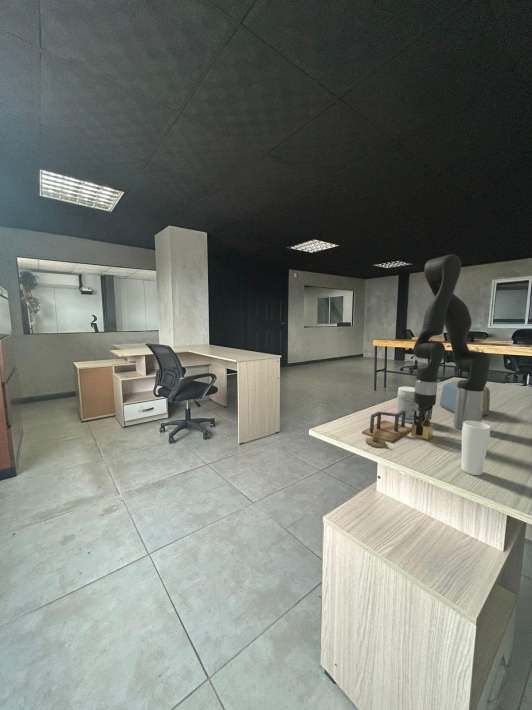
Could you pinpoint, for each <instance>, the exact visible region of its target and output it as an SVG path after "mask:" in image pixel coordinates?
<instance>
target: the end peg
mask: <svg viewBox="0 0 532 710" xmlns="http://www.w3.org/2000/svg"><path fill="white" fill-rule="evenodd" d="M365 442H366V443H367V444H368V445H367V444H366V443H365V444H366V445H367V446H369V445H370V447H372V446H374V447H373V448H378V447H381V448H384V446H385V447H386V444H387V443H386V441H384V440H382V439H379V431H378V430H373V437H372V436H369V437H366V438H365Z"/></svg>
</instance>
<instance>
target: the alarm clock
mask: <svg viewBox="0 0 532 710" xmlns="http://www.w3.org/2000/svg"><path fill="white" fill-rule="evenodd" d="M460 380H461V379H457V380H456V379H454V380H451V382H447V383H444V385H443V386H442V390H441V395H440V399H439V405H440V406H442V407H441V408H444V409H445V410H448V411H449V412H452V413H453V414H455V404H456V395H457V385H458V381H460ZM490 396H491V395H490V389H489V388H488V387H487V386H485V387H484V394H483V402H482V407H483V412H482V416H488V415H489V413H490V405H491V404H490V401H491V400H490V399H491V398H490Z"/></svg>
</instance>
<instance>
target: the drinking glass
mask: <svg viewBox="0 0 532 710" xmlns="http://www.w3.org/2000/svg"><path fill="white" fill-rule="evenodd" d="M491 429H492V427H491V426H490V424H488V423H484V422H482V421H481V422H477V421H464V422H463V426H462V430H461V459H460V460H461V463H460V468H461V470H462V471H463V473H467V474H469V475H472V476H481V475H482V474H483V471H484V465H485V461H486V455H487V453H488V448H489V444H490V439H491Z"/></svg>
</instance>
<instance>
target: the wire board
mask: <svg viewBox="0 0 532 710" xmlns="http://www.w3.org/2000/svg"><path fill="white" fill-rule="evenodd" d="M401 415H402V420H401V421H400V420H399V416H401ZM382 416H390V417H394V421H389V420H385V419H383V420H381V419H382ZM405 417H406V412H405V410H402V411H400V412H398V413H395V412H387V411H377V412H375V413H373V414H371V415H370V421H369V422H370V423H369V427H368V428H366V429H364V430H362V431H361V433H362V434H363V435H366V436H369V437H373V430H378V431H379V439H382V440H385V442H387V441H388V442H387V443H390V442H391V444H393V443H394V442H396V441H397V440H399V439H400V438H401V437H403V436H404V435H406V434H407V433H410V432H411V428H412V426H407V425H406V422H405ZM375 418H376V424H375ZM399 421H400V423H399ZM392 442H393V443H392Z"/></svg>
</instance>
